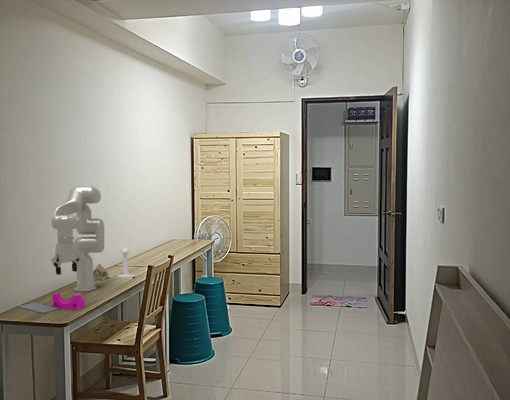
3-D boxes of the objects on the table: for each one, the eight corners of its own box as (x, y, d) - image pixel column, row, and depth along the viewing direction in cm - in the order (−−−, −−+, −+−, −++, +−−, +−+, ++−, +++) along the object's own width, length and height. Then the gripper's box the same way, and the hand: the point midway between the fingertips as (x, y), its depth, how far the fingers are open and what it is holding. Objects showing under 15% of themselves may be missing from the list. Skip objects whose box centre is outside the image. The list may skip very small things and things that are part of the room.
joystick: (116, 279, 356) (115, 248, 354) (120, 277, 363) (119, 247, 362) (133, 279, 355) (132, 248, 353) (136, 277, 362) (136, 247, 361)
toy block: (84, 307, 289) (84, 293, 288) (78, 310, 283) (77, 295, 282) (60, 305, 293) (59, 291, 293) (53, 308, 287) (52, 294, 287)
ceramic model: (94, 277, 365) (94, 262, 365) (111, 276, 365) (110, 261, 364) (87, 281, 351) (87, 266, 351) (104, 281, 351) (104, 266, 350)
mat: (34, 303, 297) (34, 302, 297) (59, 309, 284) (59, 308, 284) (18, 307, 289) (18, 306, 289) (43, 313, 277) (43, 312, 277)
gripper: (74, 237, 295) (76, 269, 296) (46, 242, 281) (47, 275, 282) (83, 238, 291) (84, 270, 292) (55, 243, 277) (56, 276, 278)
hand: (66, 272), depth 287 cm, fingers open, 9 cm apart
